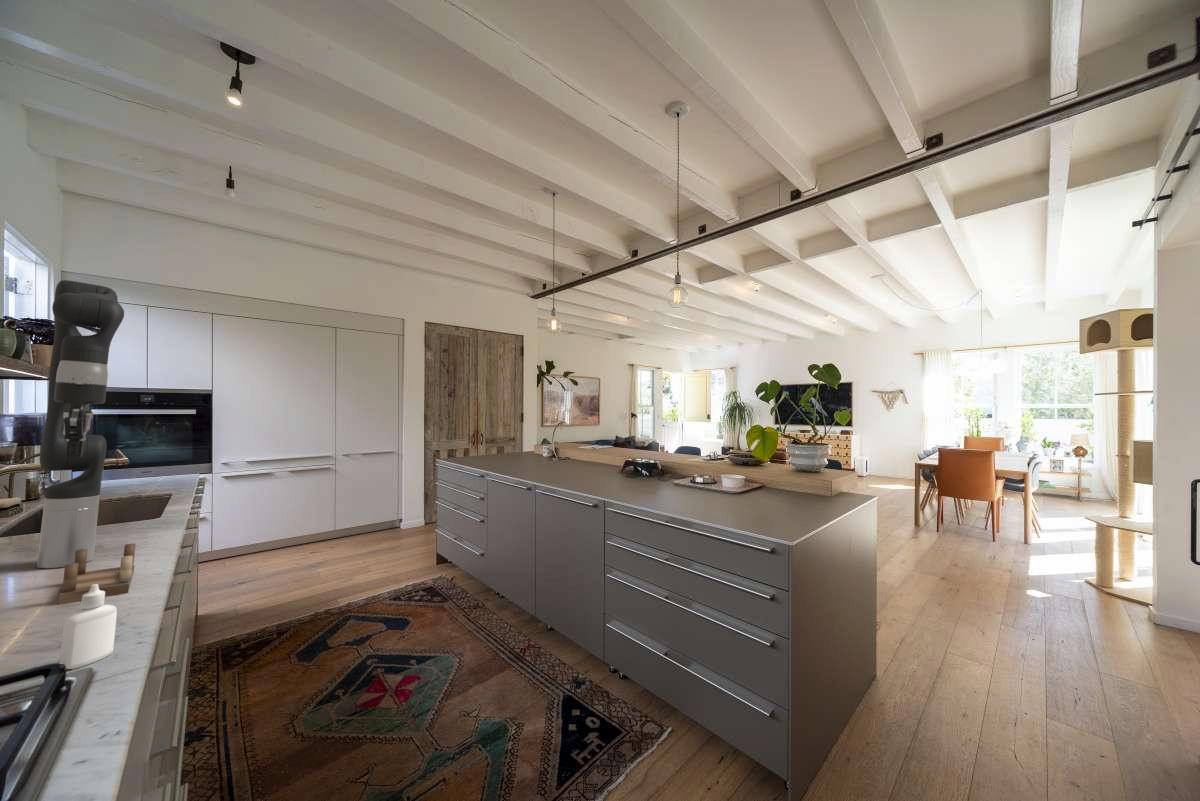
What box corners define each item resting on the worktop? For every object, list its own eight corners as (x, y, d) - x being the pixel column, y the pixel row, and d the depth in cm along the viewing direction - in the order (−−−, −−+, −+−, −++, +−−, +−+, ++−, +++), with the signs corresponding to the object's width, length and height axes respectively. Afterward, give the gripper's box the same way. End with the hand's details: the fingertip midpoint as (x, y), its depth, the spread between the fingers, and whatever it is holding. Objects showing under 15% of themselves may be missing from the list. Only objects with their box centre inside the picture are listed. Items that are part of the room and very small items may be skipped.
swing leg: (121, 570, 102) (123, 547, 102) (132, 568, 103) (134, 546, 103) (118, 582, 94) (121, 558, 95) (130, 580, 96) (133, 557, 96)
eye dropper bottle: (113, 659, 70) (121, 583, 70) (58, 673, 65) (67, 593, 66) (112, 649, 72) (119, 577, 73) (59, 663, 68) (67, 585, 69)
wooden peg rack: (72, 582, 100) (76, 549, 100) (133, 573, 106) (136, 542, 107) (58, 604, 88) (62, 567, 89) (127, 592, 95) (131, 558, 95)
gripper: (61, 382, 101) (53, 456, 100) (49, 379, 91) (40, 461, 90) (110, 385, 106) (102, 455, 105) (103, 382, 96) (95, 460, 95)
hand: (73, 458), depth 97 cm, fingers closed
